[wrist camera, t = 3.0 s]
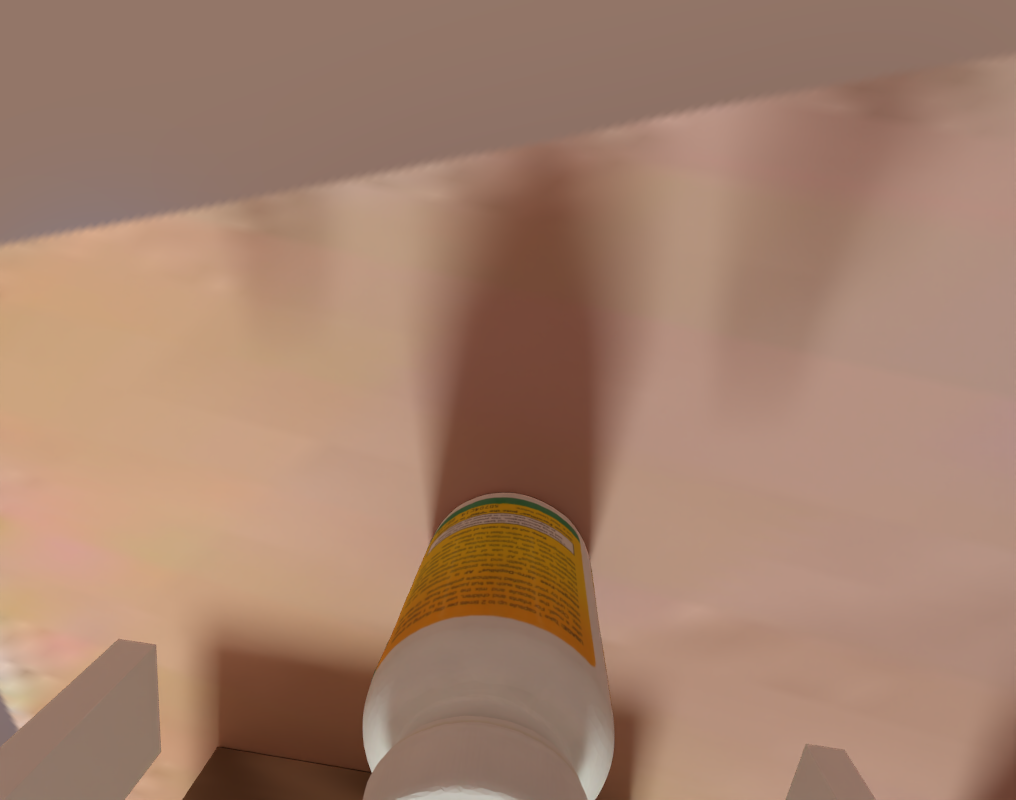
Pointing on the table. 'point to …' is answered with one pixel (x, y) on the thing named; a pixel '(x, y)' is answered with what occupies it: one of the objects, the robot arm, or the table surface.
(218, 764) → the walnut plinth
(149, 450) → the table surface
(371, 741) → the supplement bottle
